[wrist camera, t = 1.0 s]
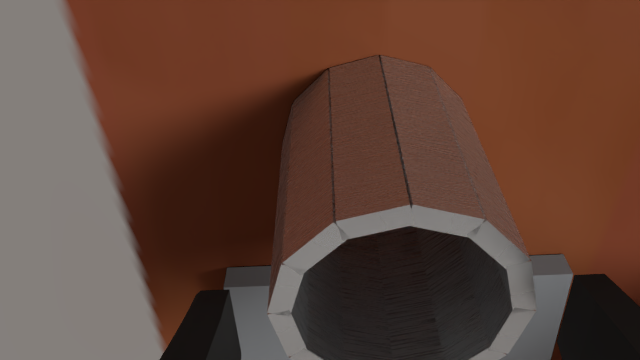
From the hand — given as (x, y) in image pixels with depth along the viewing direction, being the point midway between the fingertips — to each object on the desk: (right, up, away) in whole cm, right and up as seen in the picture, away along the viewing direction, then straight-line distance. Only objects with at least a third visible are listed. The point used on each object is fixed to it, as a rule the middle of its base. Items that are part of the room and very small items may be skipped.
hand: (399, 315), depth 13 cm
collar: (0, +4, +6) cm, 7 cm away
